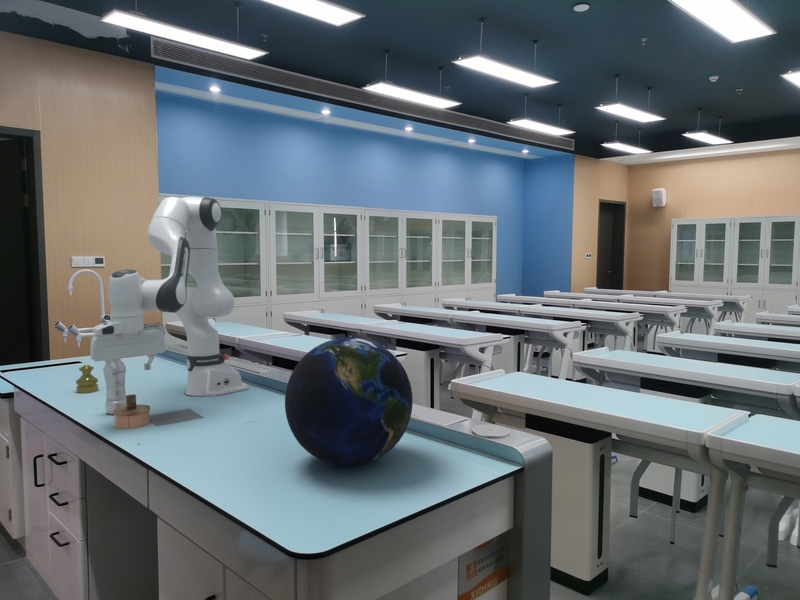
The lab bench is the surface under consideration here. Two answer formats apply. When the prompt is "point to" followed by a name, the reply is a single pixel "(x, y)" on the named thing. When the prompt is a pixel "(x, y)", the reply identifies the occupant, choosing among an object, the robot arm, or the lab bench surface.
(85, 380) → the gold chess piece
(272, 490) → the lab bench surface
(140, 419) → the bowl
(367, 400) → the globe
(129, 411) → the lid
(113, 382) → the plastic bottle
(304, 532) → the lab bench surface
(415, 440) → the lab bench surface
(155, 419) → the mat
